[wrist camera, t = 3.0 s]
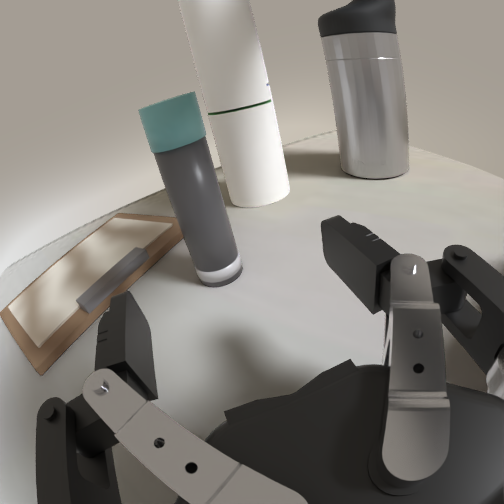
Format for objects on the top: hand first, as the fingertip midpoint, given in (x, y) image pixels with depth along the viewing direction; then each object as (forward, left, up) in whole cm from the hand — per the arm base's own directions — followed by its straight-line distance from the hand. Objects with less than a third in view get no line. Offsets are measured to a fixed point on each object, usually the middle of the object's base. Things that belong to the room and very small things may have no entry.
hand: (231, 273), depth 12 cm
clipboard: (-2, -23, -8) cm, 24 cm away
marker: (-7, -8, -8) cm, 13 cm away
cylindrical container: (-21, -12, -8) cm, 26 cm away
